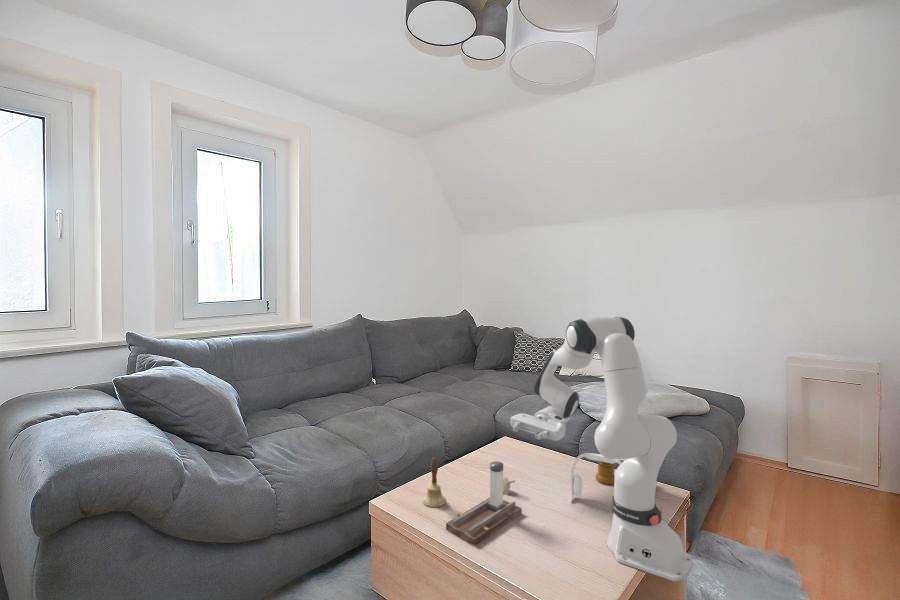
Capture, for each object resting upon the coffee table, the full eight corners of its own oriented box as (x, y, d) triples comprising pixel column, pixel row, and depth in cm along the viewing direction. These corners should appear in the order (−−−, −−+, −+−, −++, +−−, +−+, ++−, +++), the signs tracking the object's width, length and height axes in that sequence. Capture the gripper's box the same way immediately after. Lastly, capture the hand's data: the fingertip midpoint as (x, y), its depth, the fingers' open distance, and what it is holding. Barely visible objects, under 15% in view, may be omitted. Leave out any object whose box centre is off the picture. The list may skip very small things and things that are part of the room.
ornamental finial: (599, 474, 175) (618, 479, 171) (592, 481, 169) (612, 487, 165) (599, 455, 174) (618, 460, 170) (593, 461, 168) (613, 466, 164)
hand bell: (450, 500, 156) (450, 456, 155) (435, 510, 149) (434, 464, 148) (433, 492, 161) (433, 450, 160) (417, 502, 154) (417, 458, 153)
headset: (630, 506, 152) (632, 456, 150) (629, 516, 145) (630, 464, 144) (571, 493, 160) (572, 446, 159) (568, 502, 154) (569, 453, 153)
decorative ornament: (498, 485, 166) (498, 471, 166) (516, 493, 160) (516, 479, 160) (491, 489, 164) (491, 475, 163) (509, 497, 158) (509, 483, 157)
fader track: (521, 513, 147) (521, 503, 147) (474, 545, 130) (474, 534, 130) (493, 500, 155) (493, 491, 155) (446, 529, 138) (446, 518, 138)
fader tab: (506, 507, 146) (506, 464, 145) (498, 512, 143) (498, 468, 142) (495, 501, 150) (495, 460, 149) (486, 506, 147) (486, 464, 146)
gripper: (522, 407, 174) (501, 417, 163) (569, 420, 160) (550, 432, 150) (521, 422, 174) (501, 433, 164) (568, 437, 161) (550, 450, 151)
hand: (525, 433), depth 157 cm, fingers open, 8 cm apart
